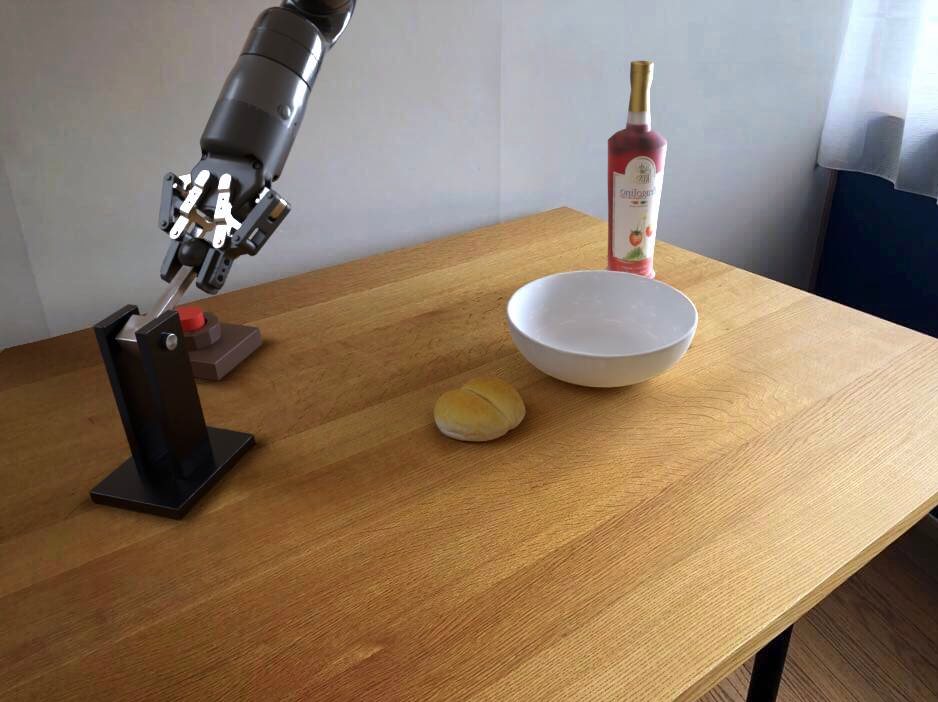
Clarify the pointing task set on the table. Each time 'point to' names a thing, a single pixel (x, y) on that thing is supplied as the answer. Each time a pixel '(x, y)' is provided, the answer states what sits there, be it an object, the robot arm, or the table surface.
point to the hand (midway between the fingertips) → (187, 286)
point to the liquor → (635, 181)
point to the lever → (167, 292)
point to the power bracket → (161, 422)
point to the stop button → (191, 318)
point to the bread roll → (479, 410)
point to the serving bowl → (601, 326)
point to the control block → (219, 346)
